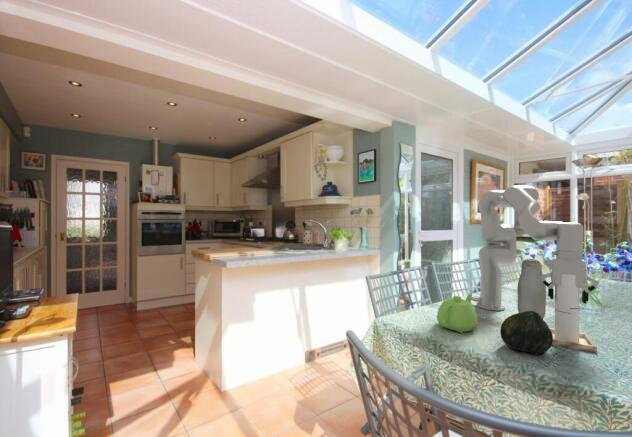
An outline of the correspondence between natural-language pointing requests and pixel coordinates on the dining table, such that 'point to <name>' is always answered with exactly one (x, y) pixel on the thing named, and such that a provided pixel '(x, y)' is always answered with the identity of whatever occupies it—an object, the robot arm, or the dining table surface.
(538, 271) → the grey tall rounded bottle
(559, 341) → the wooden tray
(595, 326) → the dining table surface
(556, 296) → the cylindrical container
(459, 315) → the teapot
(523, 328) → the squash
